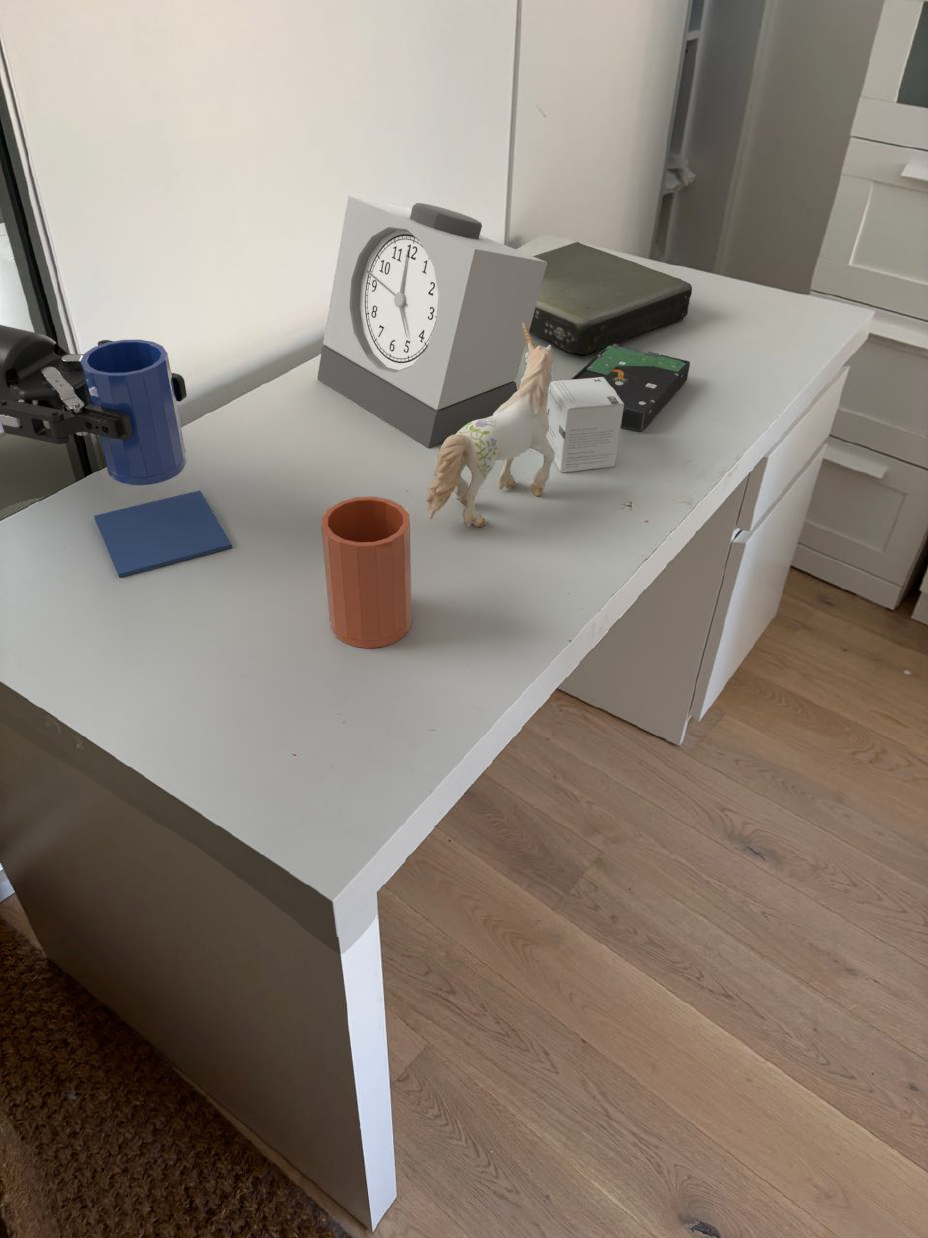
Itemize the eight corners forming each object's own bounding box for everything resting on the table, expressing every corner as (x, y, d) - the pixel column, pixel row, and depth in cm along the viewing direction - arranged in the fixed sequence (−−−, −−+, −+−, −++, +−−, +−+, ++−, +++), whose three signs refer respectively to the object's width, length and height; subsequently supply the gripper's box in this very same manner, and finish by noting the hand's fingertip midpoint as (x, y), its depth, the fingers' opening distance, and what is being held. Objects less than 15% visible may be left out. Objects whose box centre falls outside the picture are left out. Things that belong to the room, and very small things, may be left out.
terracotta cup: (349, 658, 76) (341, 554, 69) (318, 610, 80) (308, 508, 74) (424, 633, 78) (424, 531, 72) (391, 588, 83) (387, 488, 76)
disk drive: (643, 436, 104) (687, 381, 114) (647, 413, 102) (691, 359, 112) (555, 413, 108) (606, 361, 118) (557, 390, 106) (608, 339, 116)
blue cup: (117, 492, 80) (90, 381, 74) (100, 455, 85) (73, 347, 78) (195, 474, 83) (176, 365, 76) (175, 439, 87) (155, 333, 81)
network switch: (699, 313, 130) (706, 276, 127) (600, 370, 116) (605, 330, 113) (559, 269, 141) (562, 234, 138) (453, 316, 127) (454, 278, 124)
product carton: (541, 444, 102) (547, 380, 97) (596, 438, 103) (603, 374, 98) (560, 474, 97) (567, 408, 93) (616, 467, 99) (626, 401, 94)
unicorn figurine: (577, 461, 99) (591, 337, 91) (489, 558, 86) (496, 424, 78) (515, 443, 102) (522, 321, 93) (420, 534, 89) (419, 402, 80)
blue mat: (119, 577, 83) (118, 574, 83) (94, 518, 90) (93, 515, 89) (232, 547, 87) (231, 544, 86) (200, 493, 93) (200, 490, 93)
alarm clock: (317, 378, 113) (302, 196, 100) (422, 343, 121) (421, 170, 108) (428, 448, 101) (427, 252, 88) (536, 403, 109) (550, 218, 96)
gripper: (-83, 361, 76) (89, 403, 72) (42, 297, 86) (200, 330, 82) (-53, 445, 81) (110, 489, 76) (62, 375, 91) (213, 410, 87)
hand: (156, 407), depth 79 cm, fingers closed on blue cup, 6 cm apart
